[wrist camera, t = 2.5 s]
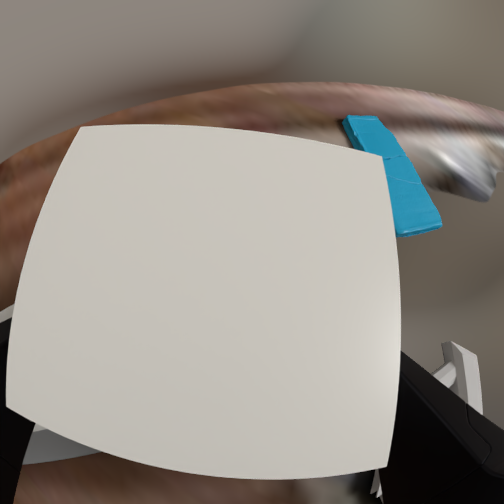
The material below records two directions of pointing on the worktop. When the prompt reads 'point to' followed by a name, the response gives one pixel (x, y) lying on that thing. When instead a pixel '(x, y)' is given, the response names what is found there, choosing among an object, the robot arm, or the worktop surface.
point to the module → (213, 303)
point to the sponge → (395, 176)
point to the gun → (453, 384)
